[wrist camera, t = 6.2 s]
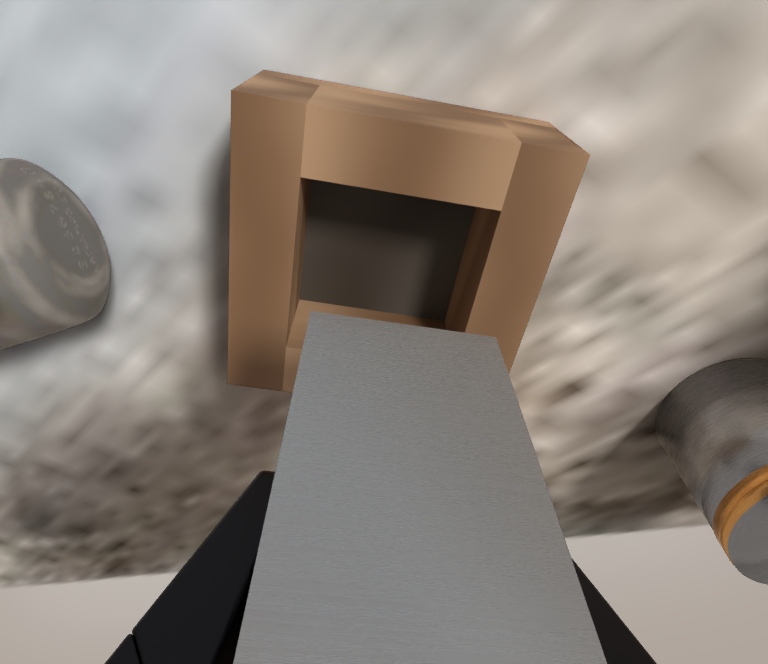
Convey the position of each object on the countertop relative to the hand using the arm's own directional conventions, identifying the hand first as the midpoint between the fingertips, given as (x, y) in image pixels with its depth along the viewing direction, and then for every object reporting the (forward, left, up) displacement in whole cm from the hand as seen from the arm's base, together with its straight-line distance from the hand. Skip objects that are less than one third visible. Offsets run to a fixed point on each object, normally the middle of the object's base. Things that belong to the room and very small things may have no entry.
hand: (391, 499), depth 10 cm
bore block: (0, 0, -13) cm, 13 cm away
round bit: (-18, +7, -13) cm, 23 cm away
